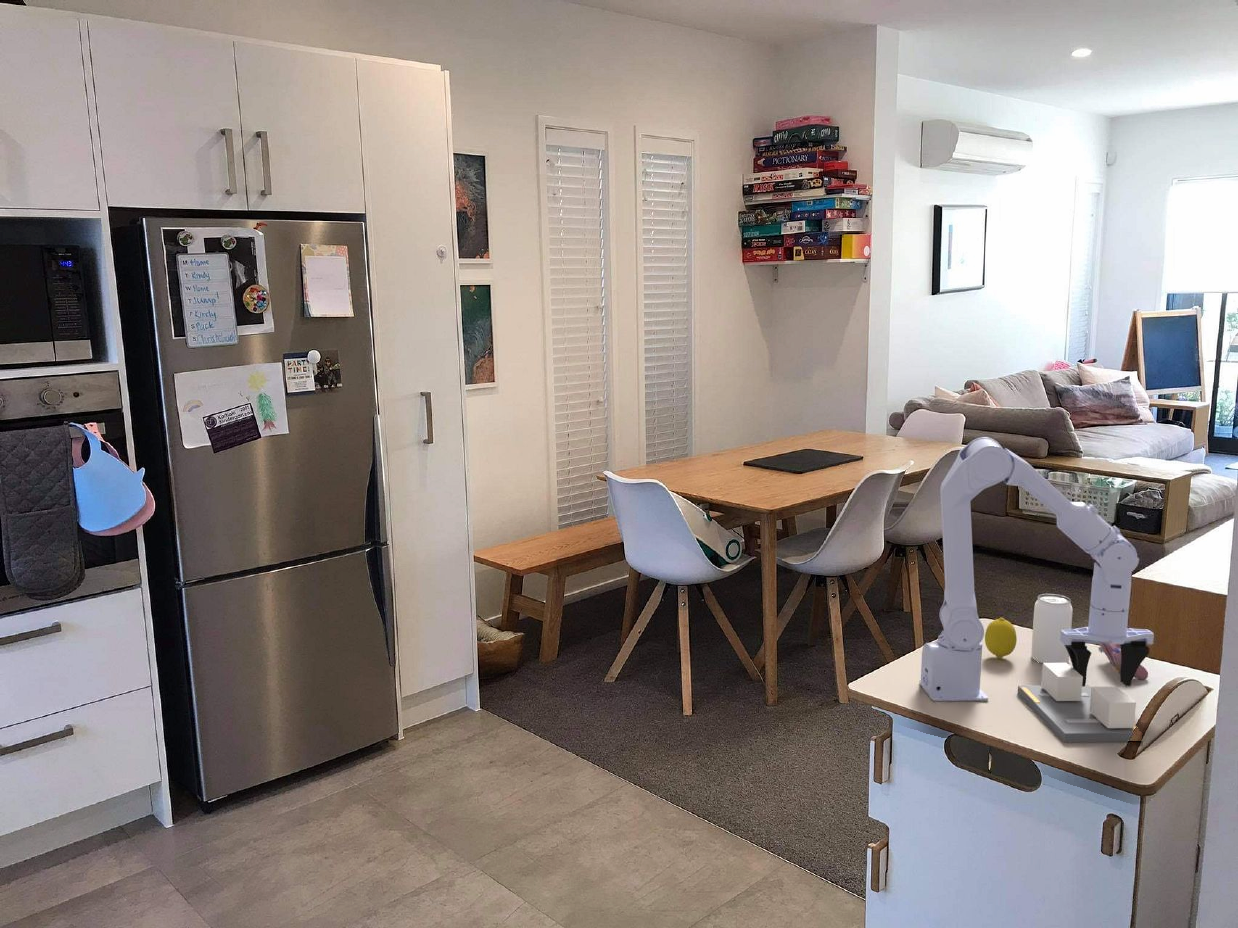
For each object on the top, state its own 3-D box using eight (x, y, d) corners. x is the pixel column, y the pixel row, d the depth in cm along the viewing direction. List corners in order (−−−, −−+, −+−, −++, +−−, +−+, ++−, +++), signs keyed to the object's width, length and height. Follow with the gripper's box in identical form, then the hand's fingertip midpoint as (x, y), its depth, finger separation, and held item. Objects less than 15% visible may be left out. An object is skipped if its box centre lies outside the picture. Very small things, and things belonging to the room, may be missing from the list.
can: (1072, 667, 179) (1077, 605, 176) (1034, 665, 180) (1039, 603, 178) (1063, 654, 185) (1068, 593, 183) (1027, 652, 186) (1031, 592, 184)
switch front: (1107, 728, 151) (1110, 702, 150) (1089, 711, 156) (1091, 686, 156) (1133, 727, 151) (1136, 702, 150) (1114, 711, 156) (1116, 686, 156)
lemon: (1019, 663, 181) (1022, 622, 179) (989, 664, 181) (992, 623, 179) (1008, 652, 186) (1011, 612, 185) (979, 652, 186) (981, 612, 185)
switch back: (1056, 700, 160) (1058, 676, 160) (1041, 686, 166) (1042, 662, 166) (1080, 700, 160) (1082, 676, 160) (1064, 685, 166) (1066, 662, 166)
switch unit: (1064, 742, 150) (1065, 732, 150) (1017, 693, 168) (1018, 684, 167) (1142, 741, 150) (1143, 731, 150) (1087, 693, 168) (1088, 684, 167)
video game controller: (1104, 667, 183) (1090, 635, 182) (1128, 657, 182) (1113, 625, 181) (1126, 689, 173) (1111, 655, 172) (1152, 678, 172) (1136, 644, 171)
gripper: (1076, 614, 157) (1070, 694, 159) (1166, 614, 157) (1159, 693, 159) (1057, 600, 164) (1051, 677, 166) (1143, 600, 164) (1136, 676, 166)
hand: (1102, 684), depth 163 cm, fingers open, 7 cm apart
